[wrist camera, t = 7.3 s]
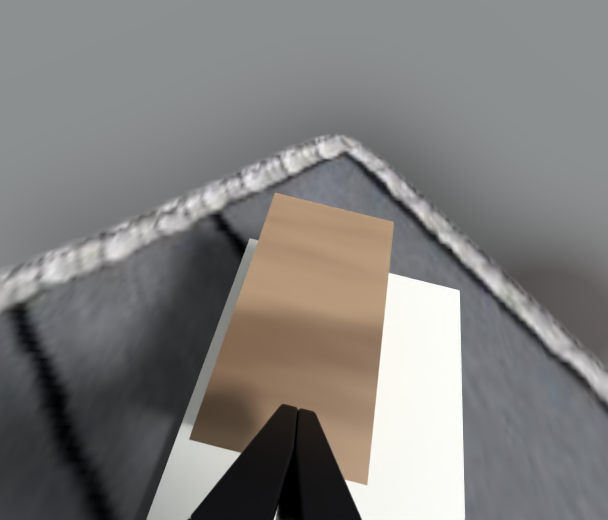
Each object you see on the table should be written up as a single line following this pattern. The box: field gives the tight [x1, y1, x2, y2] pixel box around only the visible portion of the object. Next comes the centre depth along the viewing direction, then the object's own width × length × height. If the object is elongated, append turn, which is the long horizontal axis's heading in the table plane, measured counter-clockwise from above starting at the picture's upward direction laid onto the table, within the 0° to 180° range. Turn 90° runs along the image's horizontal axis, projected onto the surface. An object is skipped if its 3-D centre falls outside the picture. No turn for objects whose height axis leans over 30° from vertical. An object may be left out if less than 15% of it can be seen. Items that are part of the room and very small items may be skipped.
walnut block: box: [189, 193, 394, 485], centre depth 13 cm, size 5×5×9 cm
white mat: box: [146, 239, 465, 520], centre depth 13 cm, size 18×12×1 cm, turn 167°
